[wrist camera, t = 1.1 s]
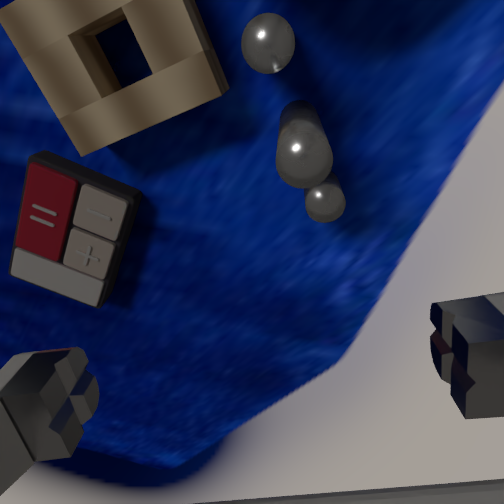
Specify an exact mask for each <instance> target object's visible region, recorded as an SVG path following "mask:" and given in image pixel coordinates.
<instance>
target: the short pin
mask: <svg viewBox="0 0 504 504" xmlns="http://www.w3.org/2000/svg"><path fill="white" fill-rule="evenodd" d="M304 196H305V206H306V211H307V213H308V215H309V216H310V217H311V218H312V219H313V220H315V221H317V222H321V223H327V222H332V221H334V220H336V219H337V218H339V217H340V216H341V215H342V213H343V211H344V209H345V205H346V201H345V197H344V194H343V191H342V189H341V186H340V183H339V180H338V178H337V176H336V175H335V174H334V173H333V172H332V171H330V173H329V174H328V176H327V177H326V178H325V179H324V180H323V181H322V182H321V183H320V184H318V185H316V186H314V187H311V188H304Z"/></svg>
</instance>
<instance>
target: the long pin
mask: <svg viewBox="0 0 504 504" xmlns="http://www.w3.org/2000/svg"><path fill="white" fill-rule="evenodd" d="M332 164H333V154H332V150H331V148H330V145H329V143H328V140H327V137H326V135H325V132H324V129H323V127H322V124H321V121H320V119H319V116H318V113H317V111H316V109H315V107H314V106H313V105H312V104H311V103H309V102H307V101H305V100H295V101H292V102H290V103H289V104H287V105H286V106H285V107H284V109H283V110H282V113H281V116H280V124H279V134H278V144H277V153H276V168H277V171H278V173H279V175H280V177H281V178H282V179H283V180H284V181H285V182H286V183H287V184H289V185H291V186H293V187H296V188H311V187H314V186H316V185H318V184H320V183H321V182H322V181H323V180H324V179H325V178H326V177H327V176H328V174H329V173H330V171H331V168H332Z"/></svg>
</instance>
